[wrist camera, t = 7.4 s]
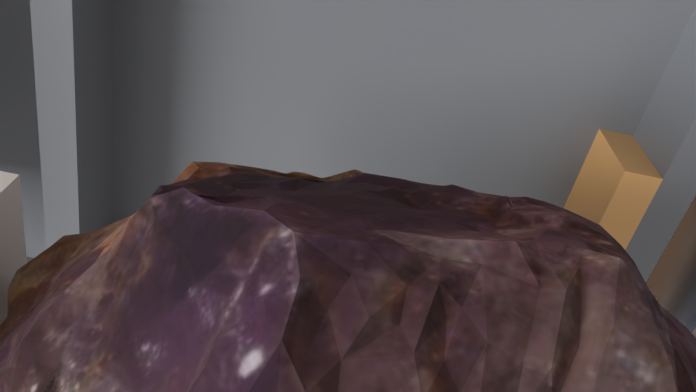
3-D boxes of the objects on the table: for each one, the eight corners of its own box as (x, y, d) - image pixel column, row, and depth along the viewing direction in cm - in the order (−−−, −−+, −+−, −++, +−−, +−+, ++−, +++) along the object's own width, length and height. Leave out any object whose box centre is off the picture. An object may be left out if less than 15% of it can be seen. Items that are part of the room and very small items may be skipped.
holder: (-351, 187, 23) (-657, 343, 16) (-642, -460, 14) (-1571, -696, 7) (539, 363, 24) (591, 573, 18) (785, -126, 15) (1074, -73, 9)
